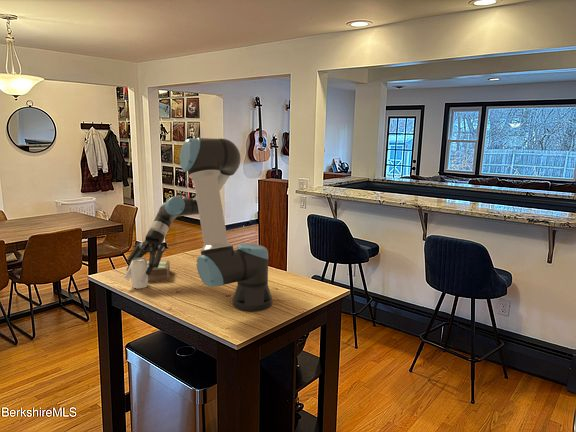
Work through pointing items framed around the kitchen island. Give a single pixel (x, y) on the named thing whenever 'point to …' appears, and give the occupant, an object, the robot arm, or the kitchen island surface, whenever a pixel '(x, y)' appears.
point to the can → (138, 272)
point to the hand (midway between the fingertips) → (134, 279)
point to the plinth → (160, 271)
